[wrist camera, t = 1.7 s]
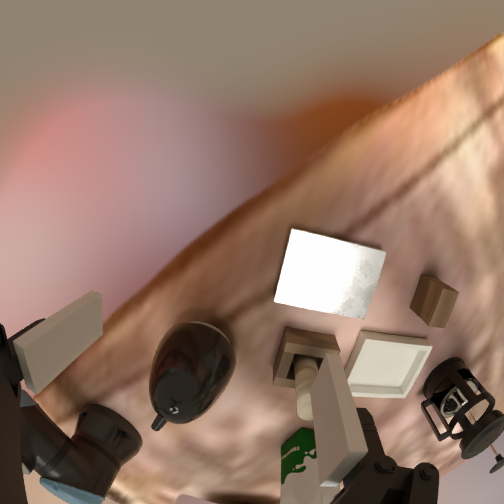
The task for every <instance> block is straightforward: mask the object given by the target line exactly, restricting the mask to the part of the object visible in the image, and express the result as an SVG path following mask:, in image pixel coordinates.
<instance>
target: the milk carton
mask: <svg viewBox="0 0 504 504" xmlns="http://www.w3.org/2000/svg"><path fill="white" fill-rule="evenodd" d="M339 492H340V485H338V486H320V485H319V473H318V462H317V452H316V442H315V432H314V431H312V430H308V429H305V428H301V429H300V430H299V431H298V432H297V433H296V434H295V435H293V436H292V437H291V438H290V439H289V440H288V441H287V442H286V443H285V444H284V445H282V446H281V496H280V504H330V502H331V501H332V500H333V499H334V498H333V497H334V496H335V495H336V494H338V493H339Z"/></svg>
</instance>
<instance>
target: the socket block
mask: <svg viewBox="0 0 504 504" xmlns="http://www.w3.org/2000/svg"><path fill="white" fill-rule="evenodd" d="M326 353H328V354H334V355H339V353H340V349H339V346H338V343H337V341H336V338H335V336H333V335H327V334H321V333H315V332H310V331H304V330H299V329H293V328H288V327H286V328H285V331H284V334H283V338H282V341H281V344H280V348H279V351H278V354H277V357H276V361H275V364H274V367H273V385H277V386H283V387H290V388H296V386H295V374H294V363H292V360H293V357H294V354H301V355H307V356H313V357H317V358H316V362H317V367H318V371H319V369H320V366H321V364H322V362H323V359H324V357H325V354H326Z"/></svg>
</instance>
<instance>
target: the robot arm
mask: <svg viewBox="0 0 504 504" xmlns="http://www.w3.org/2000/svg"><path fill="white" fill-rule="evenodd" d="M102 335H103V319H102V294H100V293H97V292H94V291H91V292H89V293H87V294H86V295H84V296H82V297H81V298H79V299H77V300H76V301H74V302H73V303H71V304H69V305H68V306H66V307H65V308H63V309H61V310H60V311H58V312H56V313H55V314H54V315H52V316H50V317H49V318H47V319H45V318H44V319H40V320H37V321H35V322H33V323H32V324H30V325H29V326H27V327H25V328H24V329H22V330H21V331H19V332H18V333H16V334H15V335H13V336H12V337H10V338H9V339H7V336H6V332H5V328H4V326H3V325H2V324H0V504H28V502H27V497H26V491H25V485H24V478H23V474H30V473H31V472H32V470H33V469H34V470H35V471H36V472H37V473H38V474H39V475H41V477H40V484H41V485H42V486H44V487H45V488H46V489H47V490H48V491H49V492H51V493H52V494H54V495H55V496H57V497H58V498H60V499H62V500H64V501H65V502H67V503H69V504H101V503H102V502H103V501H104V500H105V497H106V495H107V493H108V491H109V489H110V487H111V485H112V483H113V481H114V479H115V477H116V475H117V474H118V472H119V470H120V468H121V466H122V465H124V464H125V463H126V462H128V461H129V460H130V459H131V458H133V457H134V456H135V455H136V454H137V453H138V452H139V450H140V448H141V446H142V440H141V437H140V435H139V434H138V432H137V431H136V430H135V428H134V427H133V426H132V425H131V424H130V423H129V422H127V421H126V420H125V419H124V418H122V417H121V416H120V415H118V414H117V413H115V412H113V411H112V410H110V409H108V408H105V407H103V406H100V405H95V404H89V405H87V406H85V407H84V409H83V410H82V411H81V412H80V414H79V418H78V421H77V425H76V429H75V433H74V435H73V436H72V437H71V439H70V438H69V437H68V436H67V435H66V434H65V433H64V432H63V431H62V430H61V429H60V428H59V427H58V426H57V425H56V424H55V423H54V422H53V421H52V420H51V419H50V418H49V417H48V415H47V414H46V413H45V412H44V411H43V410H42V409H41V407H40V406H39V404H38V403H36V402H35V401H34V400H33V399H32V398H31V396H29V394H28V393H27V392H26V391H25V390H22V389H21V383H20V381H22V380H23V379H24V380H25V383H26V386H27V388H28V389H30V390H31V391H32V392H34V393H35V394H37V395H38V394H39V393H40V392H41V391H42V390H43V389H44V388H45V387H46V386H47V385H48V384H49V383H50V382H51V381H53V380H54V379H55V378H56V377H57V376H58V375H59V374H60V373H61V372H62V371H63V370H64V369H65V368H66V367H67V366H69V365H70V364H71V363H72V362H73V361H74V360H75V359H76V358H77V357H78V356H79V355H81V354H82V353H83V352H84V351H85V350H86V349H87V348H88V347H89V346H91V345H92V344H93V343H94V342H95V341H96V340H97V339H98V338H99V337H101V336H102ZM310 397H311V406H312V414H313V423H314V432H315V442H316V452H317V462H318V473H319V485H320V486H338V485H339V483H340V482H341V481H342V480H343V484H344V488H343V489H342V490H341V491H340V492H339V493H338V494H336V495H335V496H334V497H333V498H334V499H333V500H332V501H331V502H330V504H437V500H438V487H439V471H438V470H437V468H436V467H435V466H434V465H433V464H430V463H426V462H423V463H420V464H418V465H417V466H416V467H415V468H414V469H411V468H405V467H400V466H397V463H396V462H395V461H394V460H393V459H392V458H391V457H389V456H386V455H385V453H384V450H383V447H382V444H381V441H380V438H379V435H378V432H377V429H376V426H375V425H374V424H375V423H374V420H373V417H372V415H371V414H370V413H369V412H368V410H367V409H366V408H356V407H355V403H354V400H353V397H352V394H351V390H350V387H349V384H348V381H347V378H346V375H345V371H344V368H343V365H342V362H341V359H340V356H339V355H334V354H328V353H326V354H325V357H324V359H323V362H322V364H321V366H320V369H319V371H318V373H317V376H316V378H315V380H314V382H313V385H312V387H311V389H310Z"/></svg>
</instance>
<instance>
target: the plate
mask: <svg viewBox="0 0 504 504" xmlns="http://www.w3.org/2000/svg"><path fill="white" fill-rule="evenodd" d="M385 255H386V252H385V251H384V250H382V249H380V248H376V247H372V246H368V245H364V244H360V243H356V242H352V241H348V240H344V239H340V238H336V237H332V236H328V235H324V234H320V233H315V232H311V231H307V230H303V229H298V228H294V227H291V229H290V233H289V237H288V242H287V246H286V250H285V254H284V258H283V263H282V267H281V271H280V275H279V279H278V283H277V287H276V291H275V295H274V302H277V303H282V304H287V305H292V306H297V307H301V308H306V309H311V310H317V311H322V312H327V313H332V314H338V315H343V316H349V317H354V318H360V319H365V316H366V314H367V311H368V308H369V305H370V303H371V300H372V297H373V294H374V291H375V288H376V285H377V282H378V279H379V275H380V272H381V269H382V266H383V262H384V259H385Z"/></svg>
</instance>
